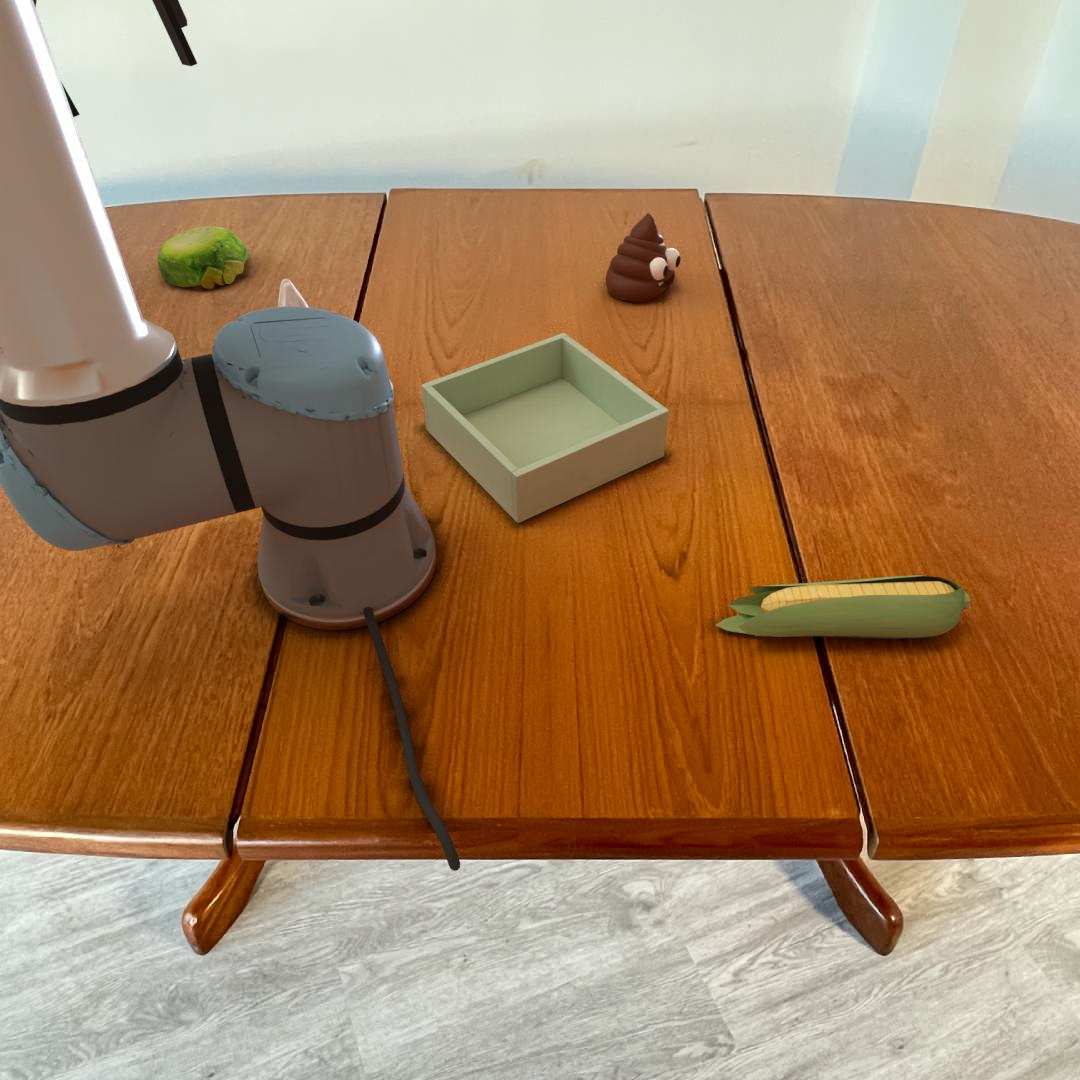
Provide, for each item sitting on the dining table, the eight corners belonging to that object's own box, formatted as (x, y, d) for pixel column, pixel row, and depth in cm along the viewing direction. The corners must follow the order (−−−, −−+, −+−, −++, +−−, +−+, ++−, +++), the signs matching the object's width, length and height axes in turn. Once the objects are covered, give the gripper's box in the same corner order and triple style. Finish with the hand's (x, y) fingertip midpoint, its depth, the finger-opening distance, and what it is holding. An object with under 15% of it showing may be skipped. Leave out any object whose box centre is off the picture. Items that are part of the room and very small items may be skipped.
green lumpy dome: (266, 264, 119) (257, 228, 116) (205, 298, 112) (194, 261, 109) (206, 245, 124) (196, 210, 120) (145, 277, 117) (132, 241, 114)
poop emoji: (632, 263, 119) (637, 194, 112) (688, 280, 115) (697, 210, 108) (592, 293, 113) (594, 222, 106) (649, 312, 109) (655, 240, 103)
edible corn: (967, 646, 71) (987, 608, 67) (720, 654, 70) (728, 616, 67) (944, 598, 74) (962, 561, 71) (709, 605, 74) (716, 568, 71)
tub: (664, 456, 88) (669, 410, 85) (517, 523, 81) (516, 477, 78) (563, 376, 99) (564, 332, 95) (426, 429, 92) (420, 384, 88)
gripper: (119, -196, 85) (221, 42, 99) (-143, -116, 76) (11, 132, 91) (145, -206, 80) (249, 46, 94) (-132, -122, 71) (29, 142, 86)
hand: (132, 89), depth 92 cm, fingers open, 13 cm apart
